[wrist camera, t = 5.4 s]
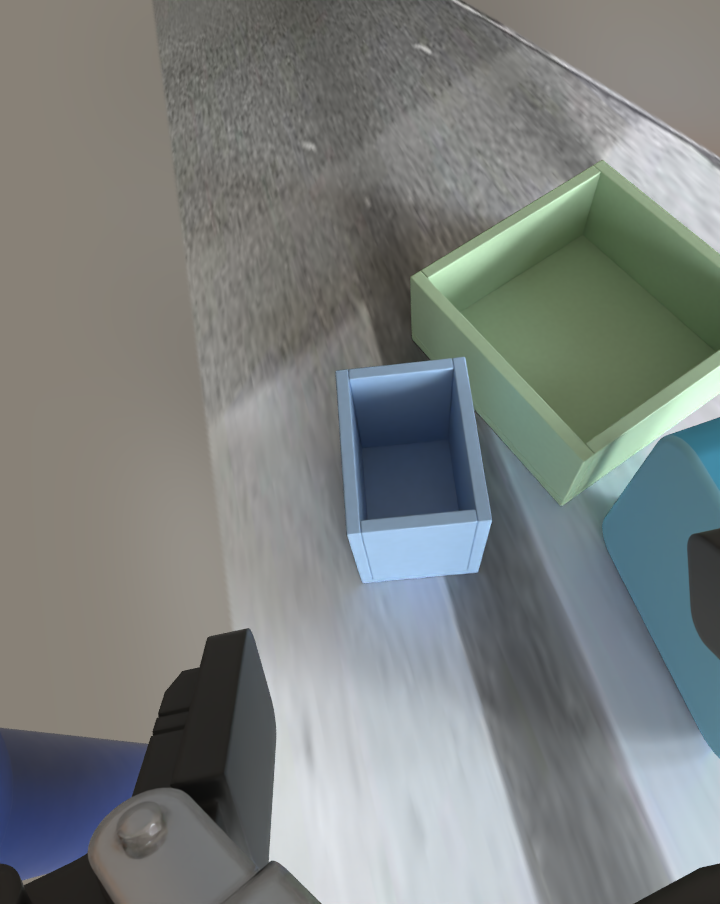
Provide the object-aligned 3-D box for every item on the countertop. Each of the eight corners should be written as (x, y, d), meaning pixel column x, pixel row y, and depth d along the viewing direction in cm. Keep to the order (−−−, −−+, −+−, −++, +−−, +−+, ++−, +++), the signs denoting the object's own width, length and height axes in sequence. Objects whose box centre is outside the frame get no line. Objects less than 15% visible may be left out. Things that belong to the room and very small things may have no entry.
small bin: (362, 583, 36) (346, 535, 28) (351, 444, 39) (335, 370, 32) (478, 572, 35) (492, 520, 28) (457, 434, 39) (465, 356, 31)
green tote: (560, 507, 36) (583, 462, 31) (411, 339, 42) (409, 276, 36) (744, 375, 39) (794, 313, 34) (581, 232, 44) (602, 159, 39)
